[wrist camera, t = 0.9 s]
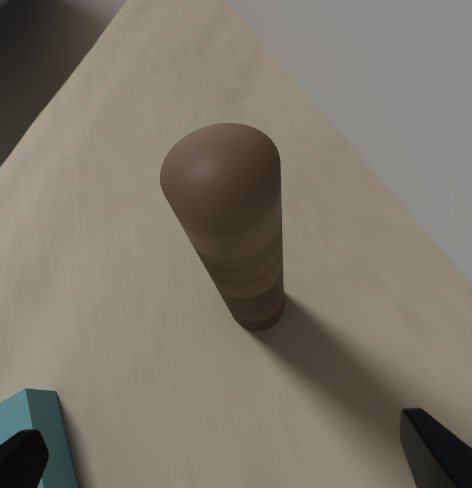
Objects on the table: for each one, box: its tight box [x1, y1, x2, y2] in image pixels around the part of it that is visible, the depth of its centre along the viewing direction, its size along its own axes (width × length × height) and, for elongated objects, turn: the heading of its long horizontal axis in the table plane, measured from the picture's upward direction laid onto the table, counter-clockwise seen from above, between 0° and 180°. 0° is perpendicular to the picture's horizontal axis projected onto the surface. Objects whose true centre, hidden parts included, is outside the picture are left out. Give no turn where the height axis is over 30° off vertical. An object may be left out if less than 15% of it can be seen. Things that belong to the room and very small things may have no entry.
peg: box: [160, 123, 284, 330], centre depth 17 cm, size 4×4×15 cm
